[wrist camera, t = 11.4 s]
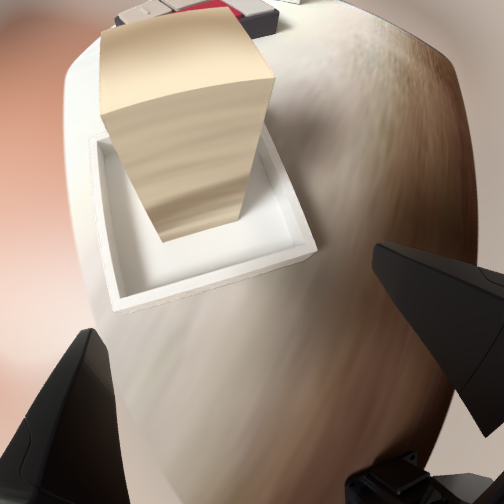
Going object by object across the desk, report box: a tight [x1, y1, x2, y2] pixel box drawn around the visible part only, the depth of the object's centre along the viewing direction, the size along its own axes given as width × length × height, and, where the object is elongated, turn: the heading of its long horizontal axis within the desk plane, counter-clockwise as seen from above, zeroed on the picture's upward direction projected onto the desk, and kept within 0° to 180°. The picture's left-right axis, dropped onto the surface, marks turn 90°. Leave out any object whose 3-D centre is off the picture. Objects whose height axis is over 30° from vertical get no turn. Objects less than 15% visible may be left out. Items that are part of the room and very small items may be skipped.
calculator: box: [115, 0, 279, 39], centre depth 23 cm, size 11×4×15 cm
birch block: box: [99, 7, 276, 243], centre depth 13 cm, size 5×5×12 cm
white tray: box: [89, 122, 318, 314], centre depth 18 cm, size 12×12×2 cm
